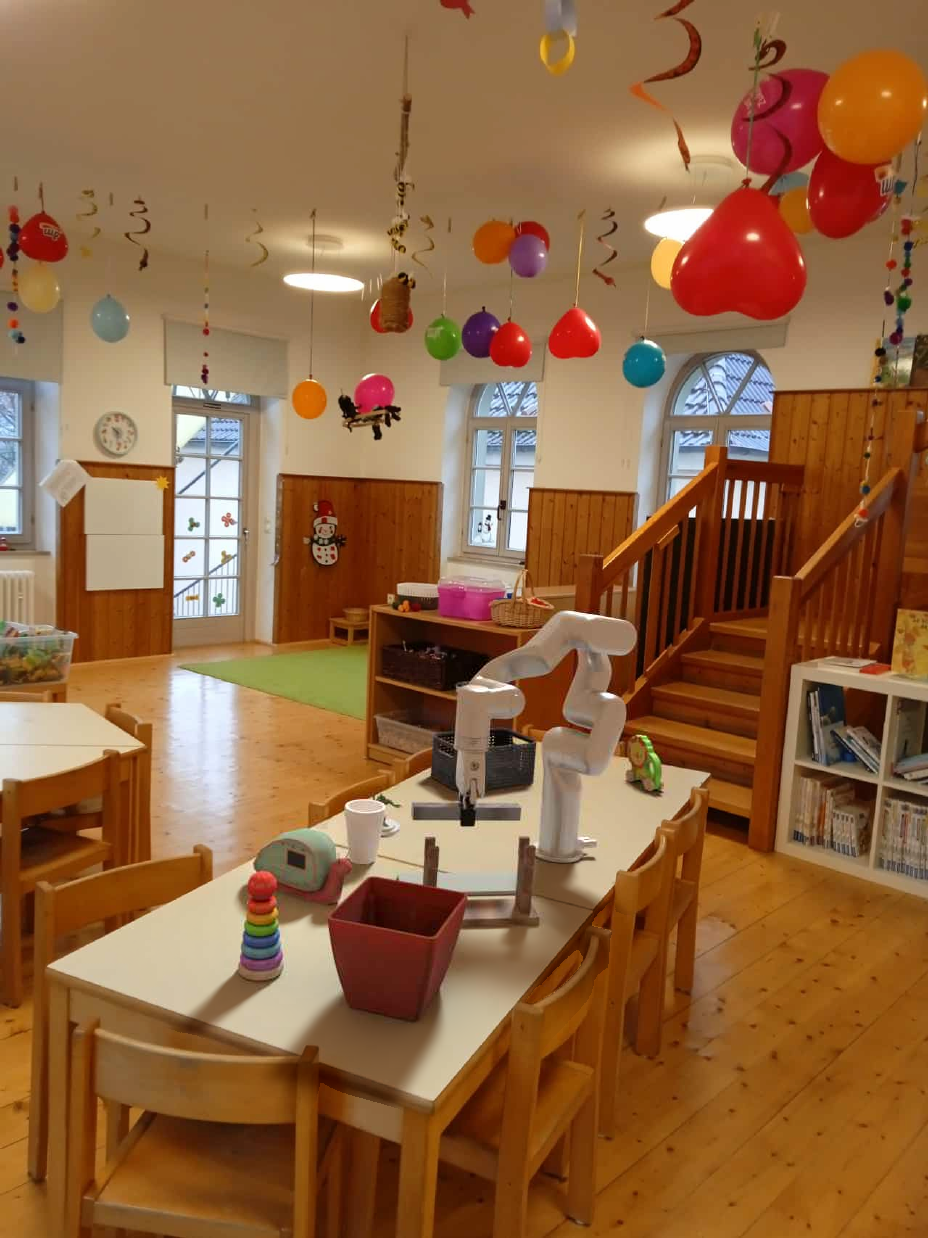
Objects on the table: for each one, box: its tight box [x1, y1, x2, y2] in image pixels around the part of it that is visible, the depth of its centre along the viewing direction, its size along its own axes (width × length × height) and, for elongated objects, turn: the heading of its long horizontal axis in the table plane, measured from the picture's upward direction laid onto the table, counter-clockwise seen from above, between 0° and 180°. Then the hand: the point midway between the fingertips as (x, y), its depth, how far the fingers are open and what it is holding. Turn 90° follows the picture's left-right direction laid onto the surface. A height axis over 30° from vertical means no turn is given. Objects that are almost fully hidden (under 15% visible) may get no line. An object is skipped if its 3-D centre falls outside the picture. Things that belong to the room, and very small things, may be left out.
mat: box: [396, 871, 517, 896], centre depth 209 cm, size 28×10×1 cm, turn 101°
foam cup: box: [344, 798, 387, 865], centre depth 219 cm, size 10×9×13 cm
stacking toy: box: [237, 871, 285, 982], centre depth 166 cm, size 8×8×19 cm
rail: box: [410, 801, 522, 822], centre depth 207 cm, size 24×3×3 cm, turn 101°
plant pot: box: [327, 875, 469, 1022], centre depth 161 cm, size 19×19×17 cm
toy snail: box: [252, 827, 353, 905], centre depth 200 cm, size 25×8×14 cm, turn 58°
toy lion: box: [625, 734, 665, 792], centre depth 291 cm, size 16×5×15 cm, turn 25°
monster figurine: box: [371, 789, 403, 837], centre depth 240 cm, size 12×12×10 cm
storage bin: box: [430, 727, 538, 792], centre depth 286 cm, size 29×19×13 cm
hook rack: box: [423, 835, 541, 927], centre depth 194 cm, size 25×9×16 cm, turn 101°
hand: (465, 822), depth 207 cm, fingers closed on rail, 3 cm apart
